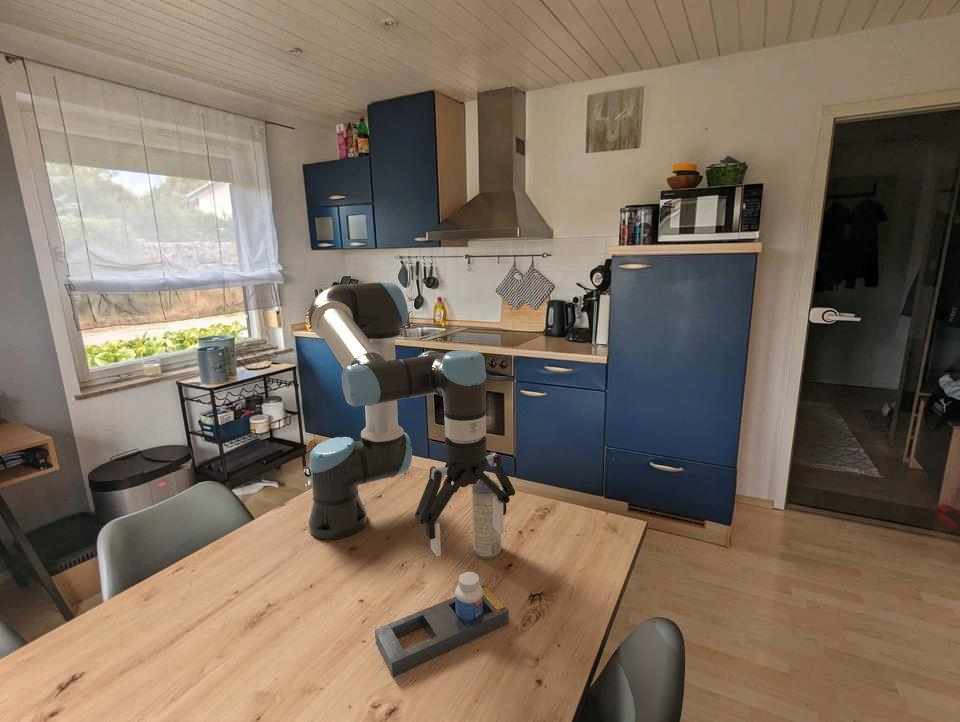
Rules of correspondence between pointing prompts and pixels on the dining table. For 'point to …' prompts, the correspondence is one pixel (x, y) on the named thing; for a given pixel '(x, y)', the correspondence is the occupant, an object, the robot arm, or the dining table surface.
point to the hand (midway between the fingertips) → (468, 541)
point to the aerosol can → (484, 522)
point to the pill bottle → (469, 598)
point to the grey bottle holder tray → (437, 632)
